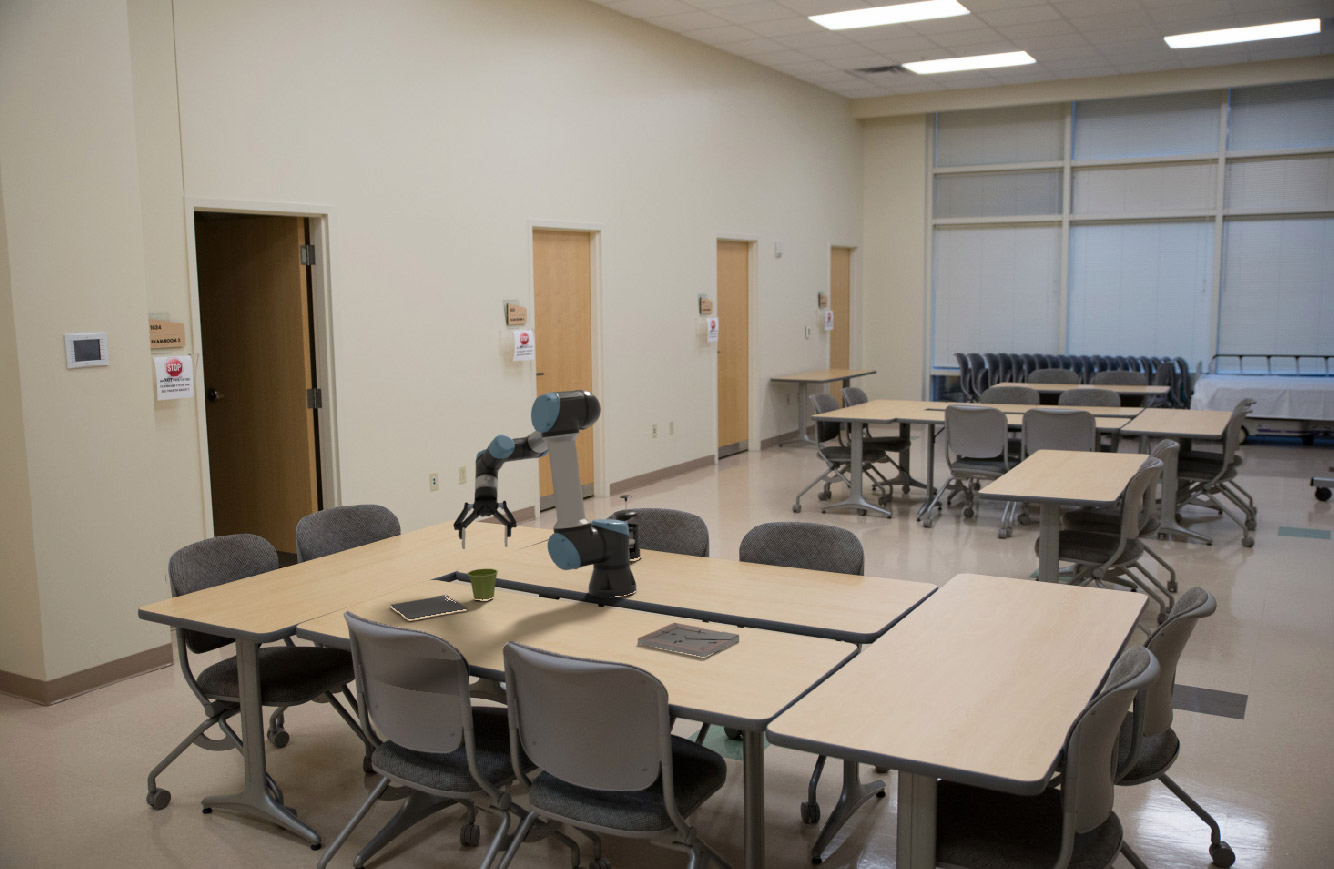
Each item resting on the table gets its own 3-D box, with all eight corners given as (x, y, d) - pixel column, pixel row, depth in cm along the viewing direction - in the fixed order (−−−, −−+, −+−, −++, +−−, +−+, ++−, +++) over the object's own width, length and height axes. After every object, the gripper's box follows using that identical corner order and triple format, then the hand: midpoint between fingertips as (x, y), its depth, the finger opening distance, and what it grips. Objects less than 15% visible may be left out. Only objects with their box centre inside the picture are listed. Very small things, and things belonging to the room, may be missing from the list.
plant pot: (502, 601, 325) (500, 573, 324) (472, 605, 322) (470, 577, 321) (495, 593, 334) (494, 567, 333) (466, 597, 330) (464, 570, 329)
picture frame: (739, 643, 280) (674, 630, 293) (739, 634, 280) (674, 621, 292) (704, 661, 267) (637, 646, 280) (704, 651, 267) (637, 637, 279)
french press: (648, 558, 374) (645, 494, 371) (630, 563, 366) (628, 499, 363) (623, 554, 381) (620, 492, 378) (605, 559, 374) (603, 496, 371)
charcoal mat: (467, 611, 315) (467, 607, 315) (408, 622, 306) (408, 618, 306) (446, 597, 331) (446, 594, 330) (390, 607, 321) (390, 604, 321)
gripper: (446, 486, 345) (443, 541, 332) (523, 483, 347) (522, 537, 334) (449, 499, 351) (446, 553, 338) (524, 496, 353) (524, 549, 340)
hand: (484, 545), depth 336 cm, fingers open, 13 cm apart
